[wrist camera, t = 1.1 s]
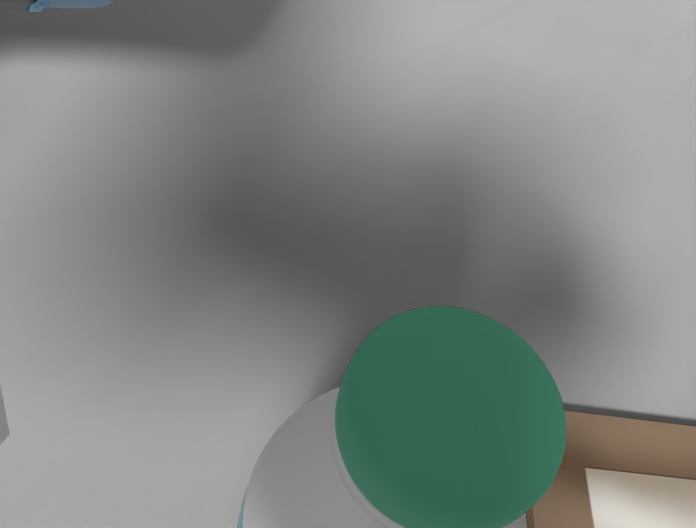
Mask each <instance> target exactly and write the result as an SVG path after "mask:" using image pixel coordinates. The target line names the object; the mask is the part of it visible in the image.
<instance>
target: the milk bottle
mask: <svg viewBox="0 0 696 528" xmlns="http://www.w3.org/2000/svg"><path fill="white" fill-rule="evenodd" d="M565 445H566V418H565V411H564V407H563V403H562V399H561V396H560V393H559V391H558V388H557V386H556V383H555V381H554V379H553V378H552V376H551V374H550V372H549V370H548V369H547V367H546V366H545V364H544V363H543V361H542V360H541V359H540V357H539V356H538V355H537V354H536V353H535V351H534V350H533V349H532V348H531V347H530V346H529V345H528V344H527V343H526V342H525V341H524V340H523V339H522V338H520V337H519V336H518V335H517V334H516V333H514V332H513V331H511V330H510V329H509V328H507V327H506V326H504V325H502V324H501V323H499V322H497V321H495V320H493V319H491V318H489V317H487V316H485V315H482V314H480V313H477V312H474V311H471V310H467V309H462V308H457V307H449V306H429V307H421V308H417V309H412V310H409V311H406V312H403V313H401V314H399V315H396V316H394V317H393V318H391V319H389V320H388V321H386V322H385V323H383V324H382V325H380V326H379V327H378V328H376V329H375V330H374V331H373V332H372V333H371V334H370V335H369V336H368V337H367V338H366V339H365V340H364V341H363V342H362V344H361V345H360V346H359V348H358V349H357V351H356V353H355V354H354V356H353V358H352V360H351V362H350V364H349V365H348V367H347V369H346V372H345V374H344V377H343V380H342V383H341V386H340V387H339V388H336V389H333V390H331V391H329V392H326V393H324V394H322V395H320V396H318V397H316V398H314V399H313V400H311V401H309V402H308V403H306V404H305V405H304V406H302V407H301V408H300V409H298V410H297V411H296V412H295V413H294V414H292V415H291V416H290V417H289V418H288V419H287V420H286V421H285V422H284V423H283V424H282V425H281V426H280V427H279V428H278V430H277V431H276V432H275V434H274V435H273V436H272V438H271V439H270V441H269V442H268V444H267V445H266V446H265V448H264V450H263V451H262V453H261V455H260V457H259V459H258V461H257V463H256V465H255V467H254V470H253V472H252V475H251V478H250V481H249V484H248V487H247V490H246V493H245V496H244V500H243V504H242V508H241V512H240V517H239V521H238V526H237V528H502V527H504V526H506V525H508V524H510V523H511V522H513V521H514V520H516V519H518V518H519V517H520V516H522V515H523V514H524V513H525V512H526V511H528V510H529V509H530V508H531V507H532V506H534V505H535V504H536V503H537V502H538V501H539V500H540V499H541V498H542V497H543V496H544V494H545V493H546V492H547V490H548V489H549V488H550V486H551V484H552V482H553V481H554V479H555V477H556V474H557V472H558V470H559V467H560V465H561V462H562V459H563V455H564V450H565Z"/></svg>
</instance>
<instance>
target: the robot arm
mask: <svg viewBox="0 0 696 528" xmlns="http://www.w3.org/2000/svg"><path fill="white" fill-rule="evenodd" d="M114 1H116V0H0V8H7V9H21V10H28V11H29V12H40V11H43V10H45V9H46V8H99V7H103V6H107V5H109V4H111V3H113V2H114ZM8 435H9V428H8V423H7V418H6V413H5V408H4V402H3V397H2V392H1V387H0V444H1V443H2V442H3V441H4V440H5V439H6V438H7V436H8Z"/></svg>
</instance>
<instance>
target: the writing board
mask: <svg viewBox="0 0 696 528" xmlns="http://www.w3.org/2000/svg"><path fill="white" fill-rule="evenodd" d="M565 418H566V445H565V450H564V455H563V459H562V462H561V465H560V467H559V470H558V472H557V474H556V477H555V479H554V481H553V482H552V484H551V486H550V488H549V489H548V490H547V492H546V493H545V494H544V496H543V497H542V498H541V499H540V500H539V501H538V502H537V503H536V504H535V505H534V506H532V507H531V508H530V509H529V510H528V511H526V516H527V526H528V528H696V427H695V426H686V425H678V424H670V423H662V422H654V421H646V420H638V419H629V418H621V417H613V416H605V415H597V414H589V413H580V412H572V411H565Z"/></svg>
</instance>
